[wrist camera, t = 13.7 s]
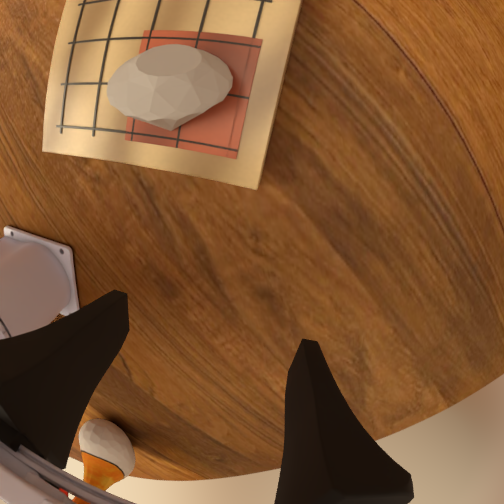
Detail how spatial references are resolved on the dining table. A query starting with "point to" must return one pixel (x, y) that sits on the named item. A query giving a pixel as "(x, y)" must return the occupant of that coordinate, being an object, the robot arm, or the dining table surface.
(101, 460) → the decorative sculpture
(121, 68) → the gemstone
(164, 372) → the dining table surface
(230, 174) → the board
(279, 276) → the dining table surface
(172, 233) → the dining table surface
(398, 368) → the dining table surface
